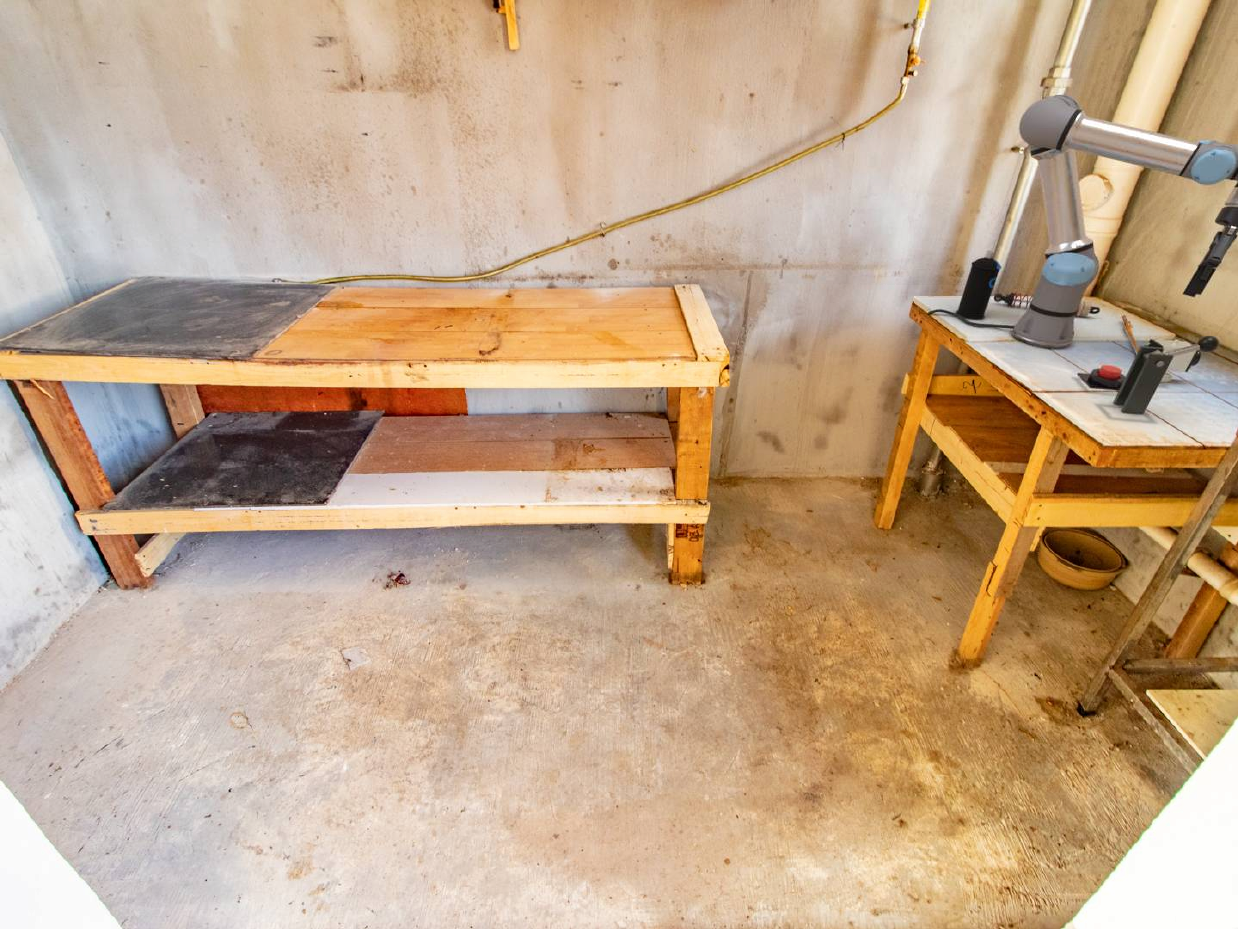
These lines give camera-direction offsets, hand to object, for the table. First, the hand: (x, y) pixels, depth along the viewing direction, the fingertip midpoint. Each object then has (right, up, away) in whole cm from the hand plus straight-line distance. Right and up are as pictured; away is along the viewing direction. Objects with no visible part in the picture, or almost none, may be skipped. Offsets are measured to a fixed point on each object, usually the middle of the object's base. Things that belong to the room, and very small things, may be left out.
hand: (1191, 294), depth 169 cm
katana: (+1, -8, +22) cm, 23 cm away
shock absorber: (-11, +6, +42) cm, 44 cm away
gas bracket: (-29, -32, -16) cm, 46 cm away
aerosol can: (-37, +3, +38) cm, 53 cm away
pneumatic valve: (-11, -23, -1) cm, 26 cm away
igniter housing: (-26, -24, -4) cm, 36 cm away
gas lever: (-24, -20, -24) cm, 40 cm away
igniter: (-26, -22, -6) cm, 34 cm away
